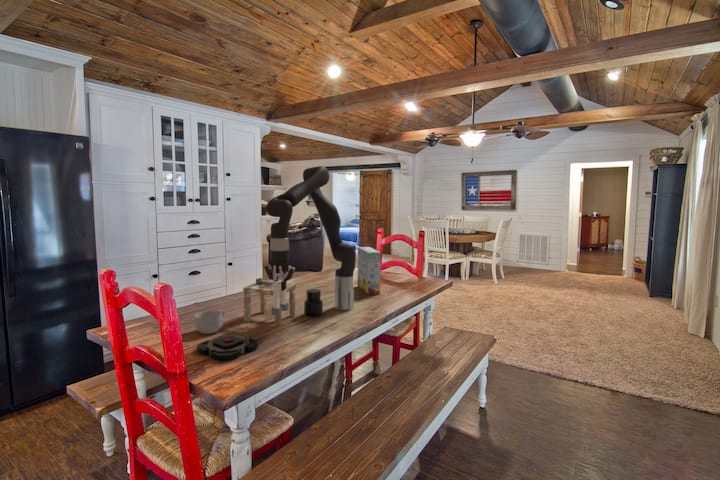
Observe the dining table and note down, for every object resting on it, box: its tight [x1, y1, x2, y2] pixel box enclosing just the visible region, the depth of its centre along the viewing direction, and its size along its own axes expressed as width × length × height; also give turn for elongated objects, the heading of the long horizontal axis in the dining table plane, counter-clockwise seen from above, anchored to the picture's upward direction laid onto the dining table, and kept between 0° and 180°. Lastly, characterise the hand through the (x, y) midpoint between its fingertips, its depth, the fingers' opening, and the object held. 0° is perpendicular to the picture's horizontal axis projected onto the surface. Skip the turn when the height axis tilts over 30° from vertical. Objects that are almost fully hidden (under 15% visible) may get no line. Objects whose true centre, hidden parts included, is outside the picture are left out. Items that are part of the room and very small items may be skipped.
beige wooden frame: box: [242, 277, 297, 327], centre depth 178 cm, size 18×16×19 cm
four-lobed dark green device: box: [196, 333, 259, 361], centre depth 143 cm, size 18×18×5 cm
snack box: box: [357, 246, 382, 295], centre depth 235 cm, size 22×9×26 cm, turn 17°
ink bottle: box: [303, 288, 324, 318], centre depth 186 cm, size 10×9×12 cm
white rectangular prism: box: [270, 279, 289, 316], centre depth 159 cm, size 8×4×13 cm, turn 163°
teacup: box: [194, 309, 225, 335], centre depth 162 cm, size 14×11×8 cm
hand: (280, 289), depth 158 cm, fingers closed on white rectangular prism, 2 cm apart
